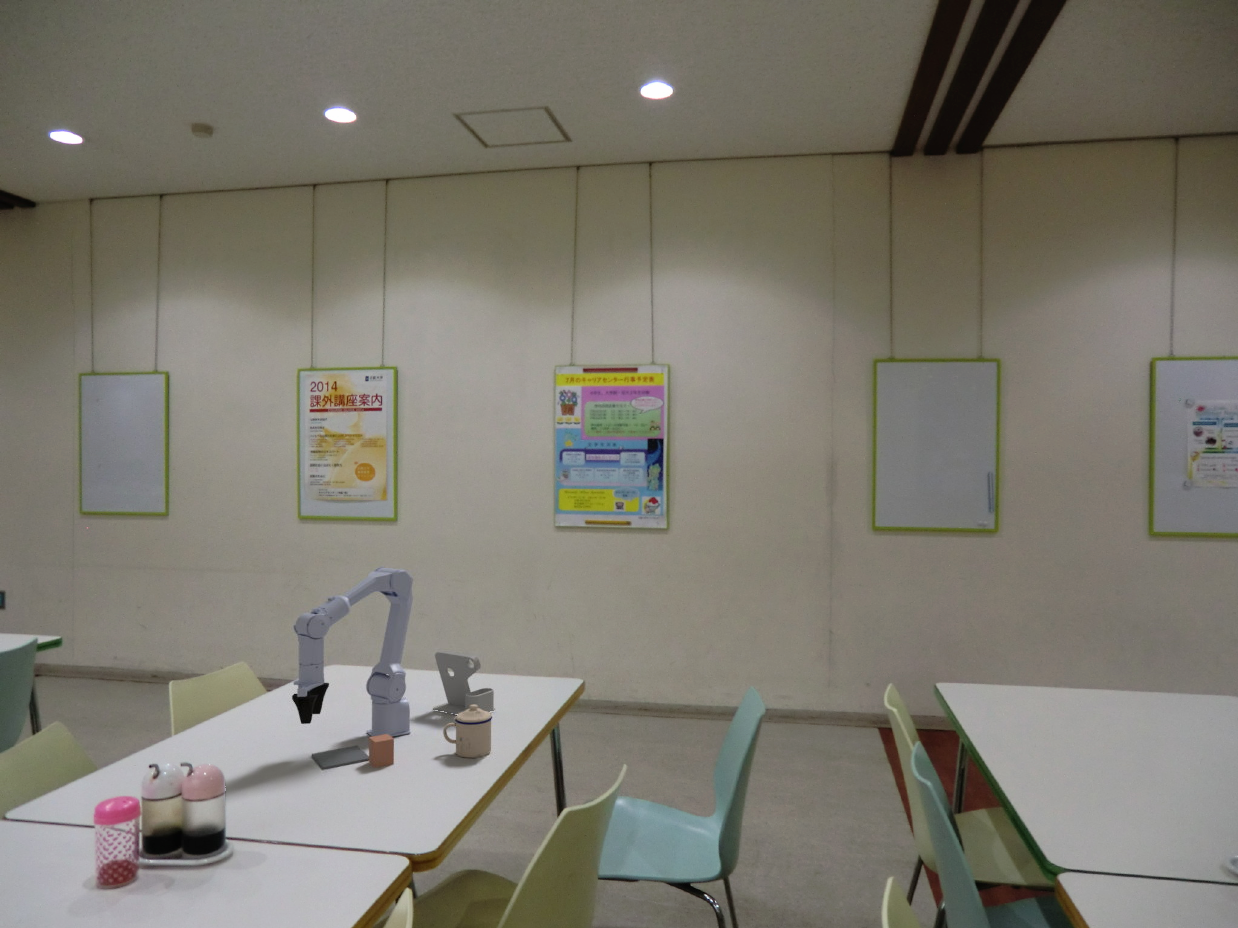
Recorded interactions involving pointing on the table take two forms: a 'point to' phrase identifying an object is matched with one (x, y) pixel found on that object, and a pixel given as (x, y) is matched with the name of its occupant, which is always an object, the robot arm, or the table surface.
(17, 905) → the table surface
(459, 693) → the phone holder
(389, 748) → the brick-red block
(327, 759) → the charcoal mat
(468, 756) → the teacup with lid
